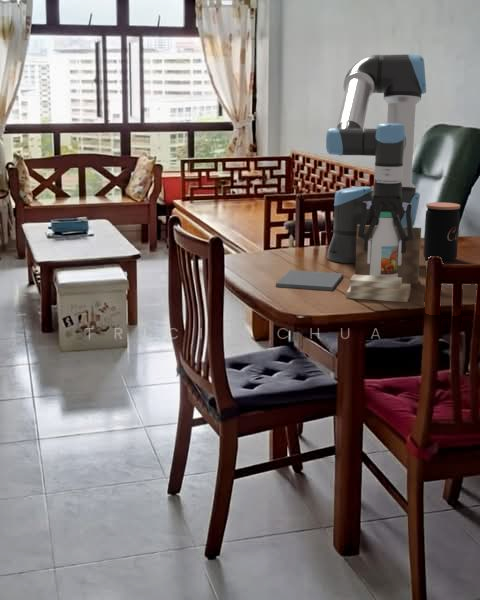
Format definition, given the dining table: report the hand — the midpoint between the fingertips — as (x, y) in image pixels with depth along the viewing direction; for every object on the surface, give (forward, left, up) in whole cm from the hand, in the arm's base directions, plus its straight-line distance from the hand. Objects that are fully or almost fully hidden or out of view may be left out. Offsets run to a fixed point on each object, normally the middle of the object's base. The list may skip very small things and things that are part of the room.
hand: (384, 263), depth 235 cm
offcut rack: (0, -2, -7) cm, 7 cm away
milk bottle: (0, 0, -5) cm, 5 cm away
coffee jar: (+13, +45, -7) cm, 47 cm away
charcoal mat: (-21, +1, -7) cm, 22 cm away
